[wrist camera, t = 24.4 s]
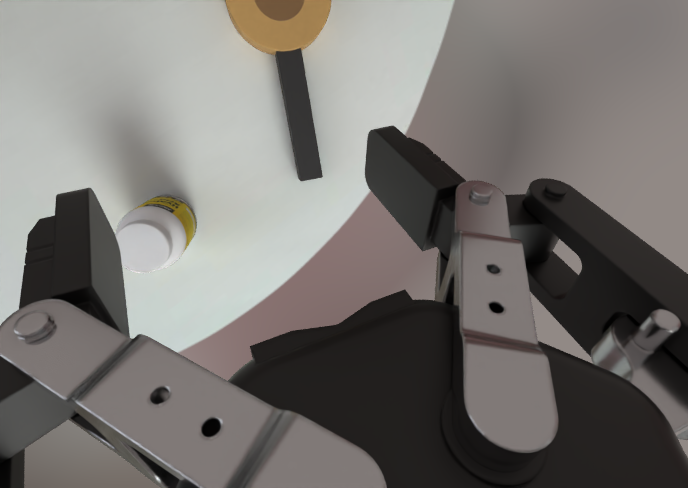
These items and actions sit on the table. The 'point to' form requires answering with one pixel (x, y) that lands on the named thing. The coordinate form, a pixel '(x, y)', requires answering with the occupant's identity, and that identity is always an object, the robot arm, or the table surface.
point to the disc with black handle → (287, 62)
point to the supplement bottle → (155, 234)
